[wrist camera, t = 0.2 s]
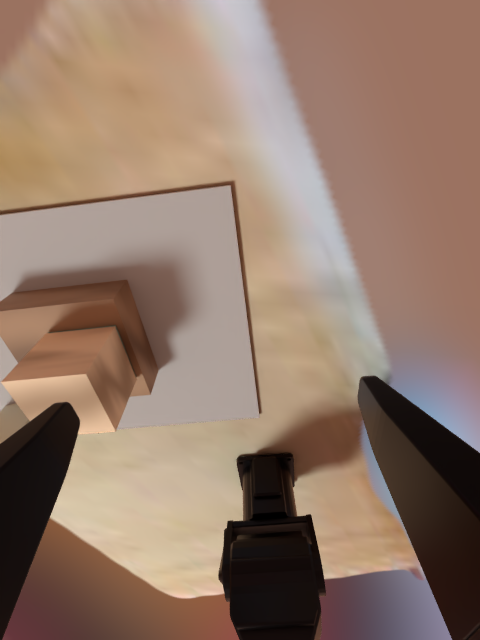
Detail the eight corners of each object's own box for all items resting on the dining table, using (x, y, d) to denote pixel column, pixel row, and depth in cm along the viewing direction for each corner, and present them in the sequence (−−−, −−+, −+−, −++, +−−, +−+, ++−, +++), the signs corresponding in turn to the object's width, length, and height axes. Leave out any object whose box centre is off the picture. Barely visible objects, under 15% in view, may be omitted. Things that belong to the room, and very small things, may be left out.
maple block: (137, 377, 24) (115, 431, 20) (76, 383, 24) (41, 437, 20) (116, 324, 21) (85, 373, 17) (47, 331, 21) (0, 382, 17)
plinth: (159, 367, 28) (150, 394, 25) (65, 376, 28) (45, 404, 25) (128, 277, 23) (113, 298, 20) (15, 290, 23) (-16, 312, 21)
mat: (259, 414, 31) (259, 417, 31) (19, 434, 33) (16, 437, 32) (230, 184, 19) (230, 185, 19) (-142, 232, 21) (-148, 234, 21)
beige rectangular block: (71, 425, 31) (39, 483, 26) (34, 433, 32) (-4, 491, 27) (44, 396, 29) (4, 452, 24) (5, 405, 30) (-43, 463, 25)
